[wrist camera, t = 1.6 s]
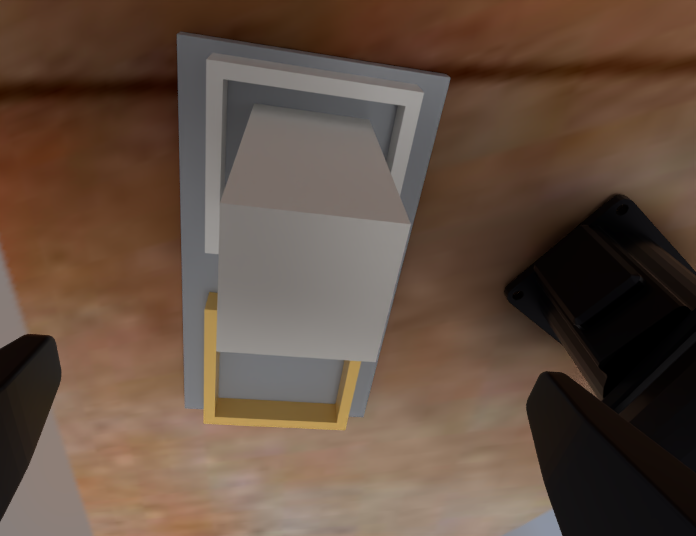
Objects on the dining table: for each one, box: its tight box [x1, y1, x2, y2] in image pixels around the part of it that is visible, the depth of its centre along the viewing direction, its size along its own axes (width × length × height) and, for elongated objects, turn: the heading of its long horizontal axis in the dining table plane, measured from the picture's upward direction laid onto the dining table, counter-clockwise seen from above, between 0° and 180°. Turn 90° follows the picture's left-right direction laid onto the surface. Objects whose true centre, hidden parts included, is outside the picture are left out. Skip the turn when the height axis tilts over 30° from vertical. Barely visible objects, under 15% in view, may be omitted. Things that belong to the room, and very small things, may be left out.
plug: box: [216, 103, 411, 362], centre depth 15 cm, size 5×4×8 cm
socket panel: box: [177, 32, 450, 430], centre depth 20 cm, size 17×9×2 cm, turn 171°
